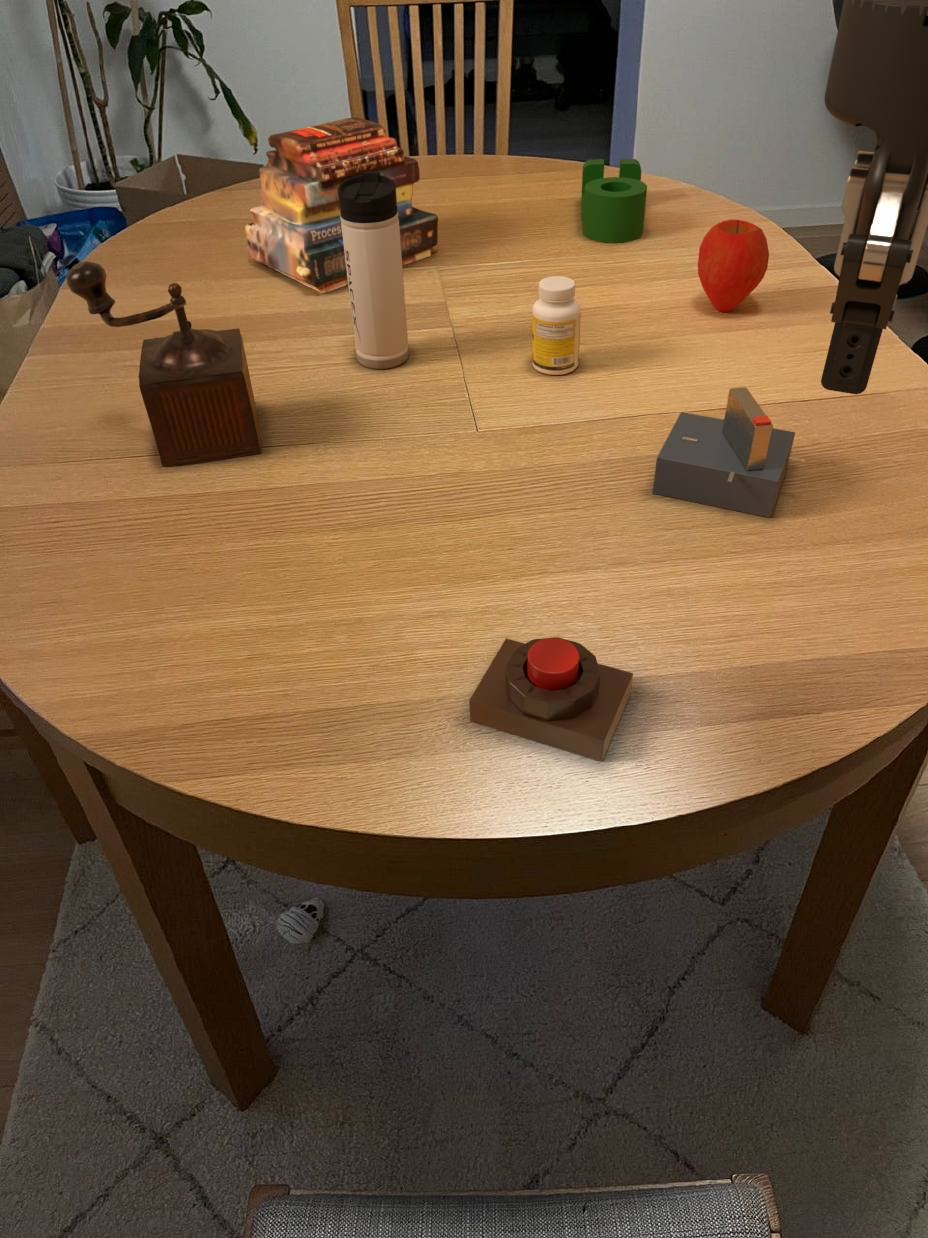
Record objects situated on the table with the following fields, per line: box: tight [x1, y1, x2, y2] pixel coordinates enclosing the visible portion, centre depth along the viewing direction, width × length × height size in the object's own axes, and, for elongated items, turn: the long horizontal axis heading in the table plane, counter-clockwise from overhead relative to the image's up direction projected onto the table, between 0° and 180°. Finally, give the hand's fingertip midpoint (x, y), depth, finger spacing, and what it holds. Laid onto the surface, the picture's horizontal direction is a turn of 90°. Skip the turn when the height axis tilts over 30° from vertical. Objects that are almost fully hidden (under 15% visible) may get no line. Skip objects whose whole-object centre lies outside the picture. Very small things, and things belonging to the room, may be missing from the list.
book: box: [244, 116, 439, 294], centre depth 130 cm, size 23×18×17 cm
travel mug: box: [338, 172, 410, 370], centre depth 105 cm, size 6×7×20 cm
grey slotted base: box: [652, 411, 806, 519], centre depth 88 cm, size 13×11×4 cm
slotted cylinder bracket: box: [580, 158, 648, 244], centre depth 141 cm, size 18×9×6 cm, turn 176°
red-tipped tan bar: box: [722, 386, 774, 470], centre depth 84 cm, size 7×2×5 cm, turn 6°
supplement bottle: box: [531, 275, 582, 376], centre depth 105 cm, size 5×5×10 cm
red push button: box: [527, 637, 579, 691], centre depth 65 cm, size 4×4×2 cm
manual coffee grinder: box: [65, 260, 263, 467], centre depth 93 cm, size 16×11×18 cm
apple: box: [697, 219, 770, 313], centre depth 115 cm, size 9×8×11 cm
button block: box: [468, 636, 634, 762], centre depth 67 cm, size 10×7×4 cm
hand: (843, 385), depth 48 cm, fingers closed
